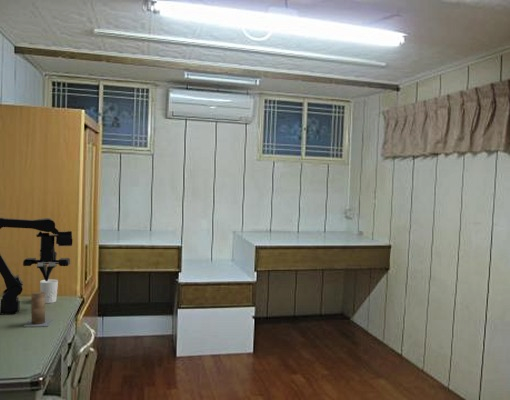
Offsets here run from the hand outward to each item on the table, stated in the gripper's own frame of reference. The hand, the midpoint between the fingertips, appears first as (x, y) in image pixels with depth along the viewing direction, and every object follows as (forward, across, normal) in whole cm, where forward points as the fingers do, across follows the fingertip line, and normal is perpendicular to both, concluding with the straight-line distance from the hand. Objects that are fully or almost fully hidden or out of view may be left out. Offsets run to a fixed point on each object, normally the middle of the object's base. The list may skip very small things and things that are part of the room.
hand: (46, 280), depth 209 cm
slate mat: (+13, -2, +21) cm, 25 cm away
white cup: (+13, +2, -14) cm, 19 cm away
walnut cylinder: (+12, -2, +21) cm, 24 cm away
